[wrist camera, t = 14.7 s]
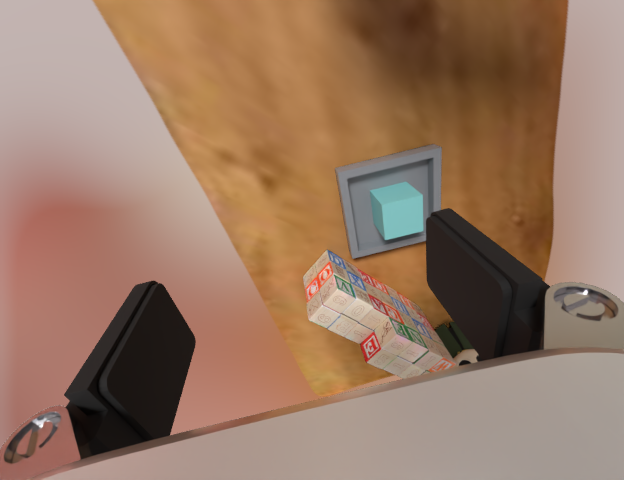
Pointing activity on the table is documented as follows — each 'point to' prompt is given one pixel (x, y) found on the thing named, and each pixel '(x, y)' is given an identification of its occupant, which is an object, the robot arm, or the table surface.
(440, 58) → the table surface
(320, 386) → the table surface
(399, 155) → the tray
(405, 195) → the cube
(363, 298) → the stack of blocks
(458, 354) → the character mug
